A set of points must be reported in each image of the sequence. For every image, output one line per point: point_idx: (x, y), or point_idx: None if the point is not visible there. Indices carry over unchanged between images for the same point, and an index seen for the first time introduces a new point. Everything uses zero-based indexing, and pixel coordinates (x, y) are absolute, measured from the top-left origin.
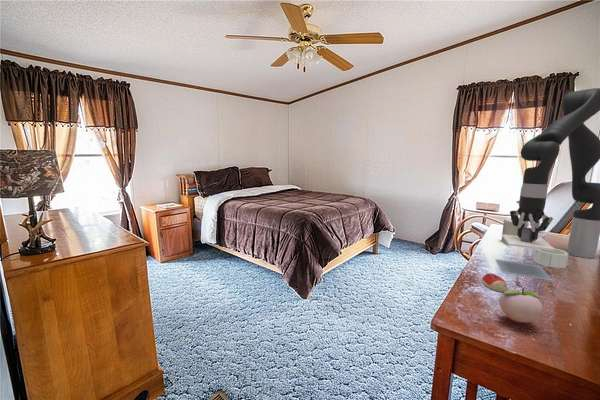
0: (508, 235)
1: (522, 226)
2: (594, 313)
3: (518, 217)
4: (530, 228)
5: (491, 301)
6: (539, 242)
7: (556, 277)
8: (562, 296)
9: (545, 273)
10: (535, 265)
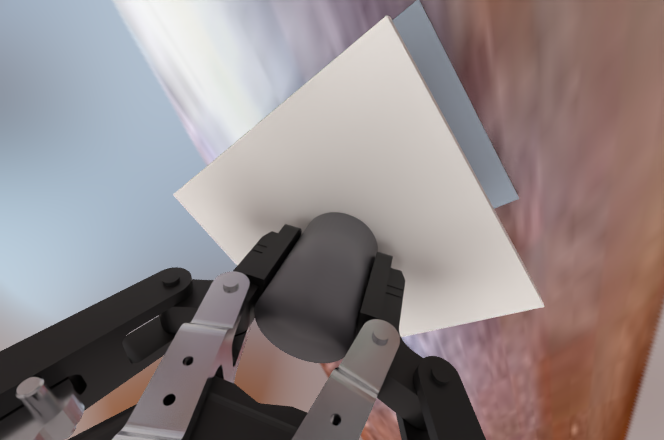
0: (204, 191)
1: (245, 322)
2: (649, 358)
3: (95, 344)
4: (308, 309)
5: None
6: (415, 212)
7: (523, 106)
8: (556, 304)
9: (472, 124)
10: (400, 26)
